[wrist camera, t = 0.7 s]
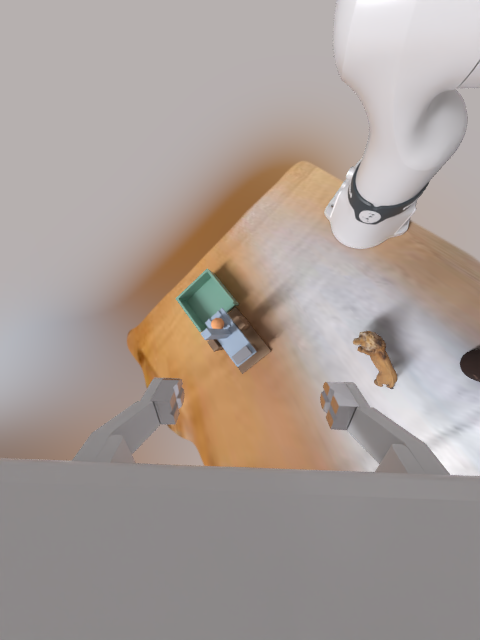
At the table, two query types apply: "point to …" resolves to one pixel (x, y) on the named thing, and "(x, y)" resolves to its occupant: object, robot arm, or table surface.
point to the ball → (217, 323)
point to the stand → (250, 335)
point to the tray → (205, 299)
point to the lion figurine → (377, 357)
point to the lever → (230, 338)
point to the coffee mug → (471, 364)
